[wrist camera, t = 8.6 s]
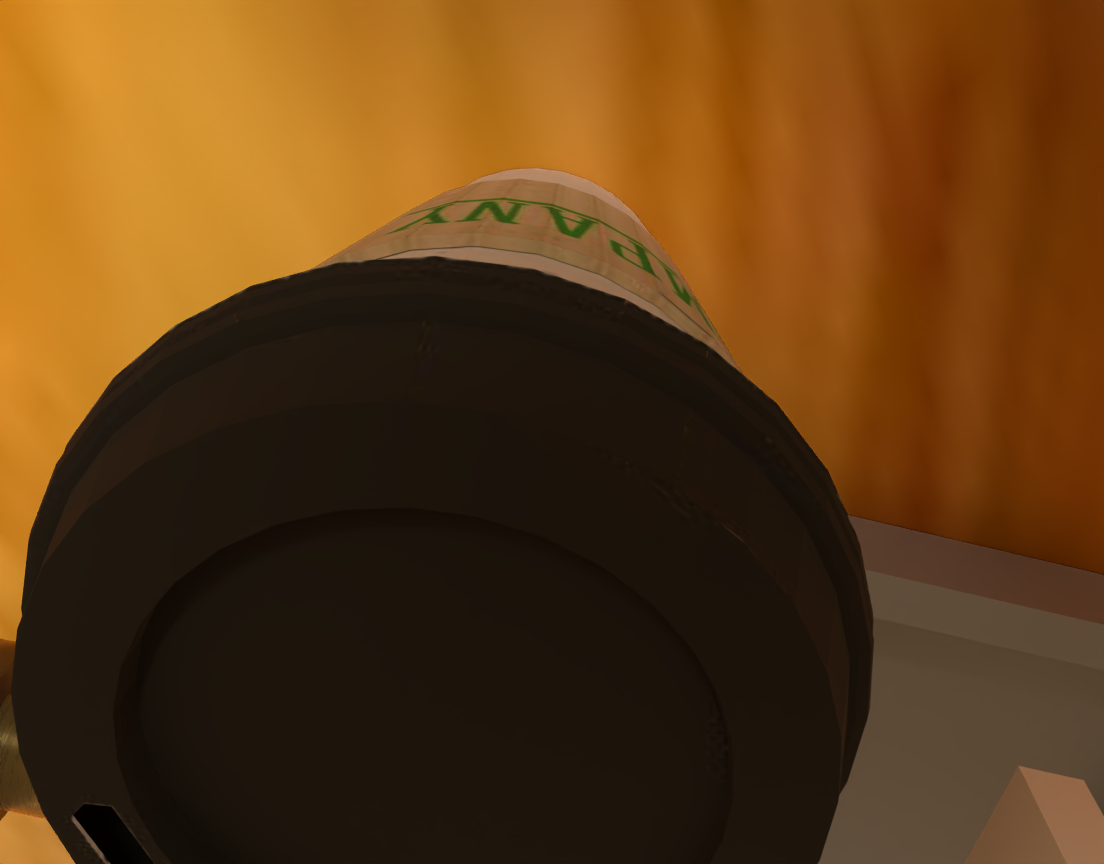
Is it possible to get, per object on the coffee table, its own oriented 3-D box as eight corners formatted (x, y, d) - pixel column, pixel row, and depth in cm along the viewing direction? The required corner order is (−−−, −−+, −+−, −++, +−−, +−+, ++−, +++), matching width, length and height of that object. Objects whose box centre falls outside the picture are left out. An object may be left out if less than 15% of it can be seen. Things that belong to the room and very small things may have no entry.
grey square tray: (720, 485, 26) (728, 537, 24) (1289, 618, 27) (1351, 681, 24) (578, 894, 32) (574, 966, 30) (1038, 993, 33) (1068, 1070, 31)
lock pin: (9, 600, 26) (-103, 723, 22) (647, 742, 26) (651, 886, 22) (10, 733, 28) (-93, 869, 24) (604, 862, 28) (601, 1014, 24)
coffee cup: (801, 418, 25) (1007, 992, 12) (429, 535, 27) (237, 1137, 14) (667, 5, 21) (743, 143, 8) (248, 178, 23) (-268, 524, 10)
